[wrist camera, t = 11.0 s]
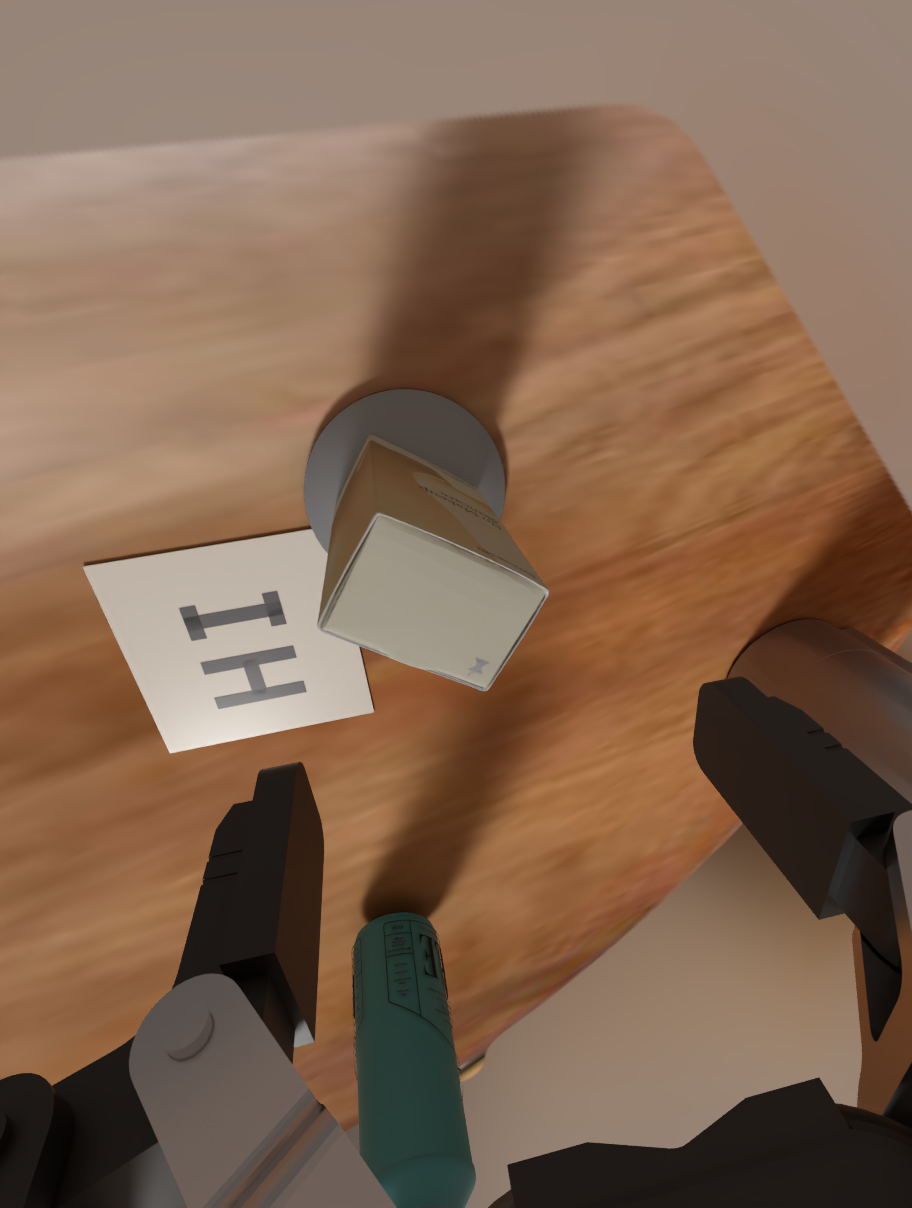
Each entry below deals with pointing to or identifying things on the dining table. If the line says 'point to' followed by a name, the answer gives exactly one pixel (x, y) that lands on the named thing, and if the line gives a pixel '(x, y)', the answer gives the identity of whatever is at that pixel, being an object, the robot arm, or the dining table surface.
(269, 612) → the card
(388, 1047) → the beverage bottle
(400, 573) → the skincare box
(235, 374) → the dining table surface
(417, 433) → the slate coaster
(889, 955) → the robot arm
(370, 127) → the dining table surface
